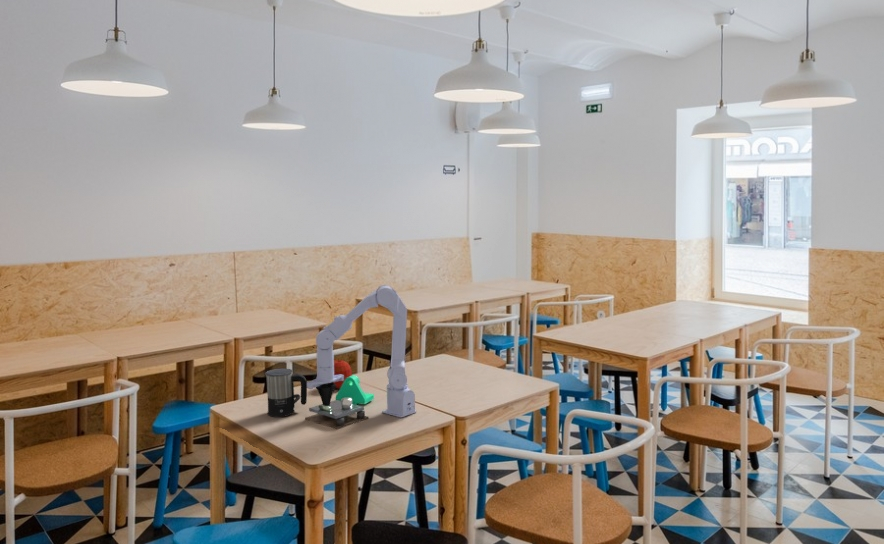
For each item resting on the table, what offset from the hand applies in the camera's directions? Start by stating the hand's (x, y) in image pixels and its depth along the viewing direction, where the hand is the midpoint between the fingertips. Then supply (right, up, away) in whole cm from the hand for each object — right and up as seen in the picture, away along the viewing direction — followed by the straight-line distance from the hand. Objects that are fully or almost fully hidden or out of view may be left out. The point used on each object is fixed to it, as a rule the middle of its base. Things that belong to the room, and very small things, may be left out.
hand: (326, 405), depth 226 cm
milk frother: (-16, -3, +8) cm, 18 cm away
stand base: (+4, -4, -3) cm, 6 cm away
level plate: (+4, -1, -3) cm, 5 cm away
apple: (-1, 0, +36) cm, 36 cm away
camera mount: (+8, -2, +16) cm, 18 cm away
